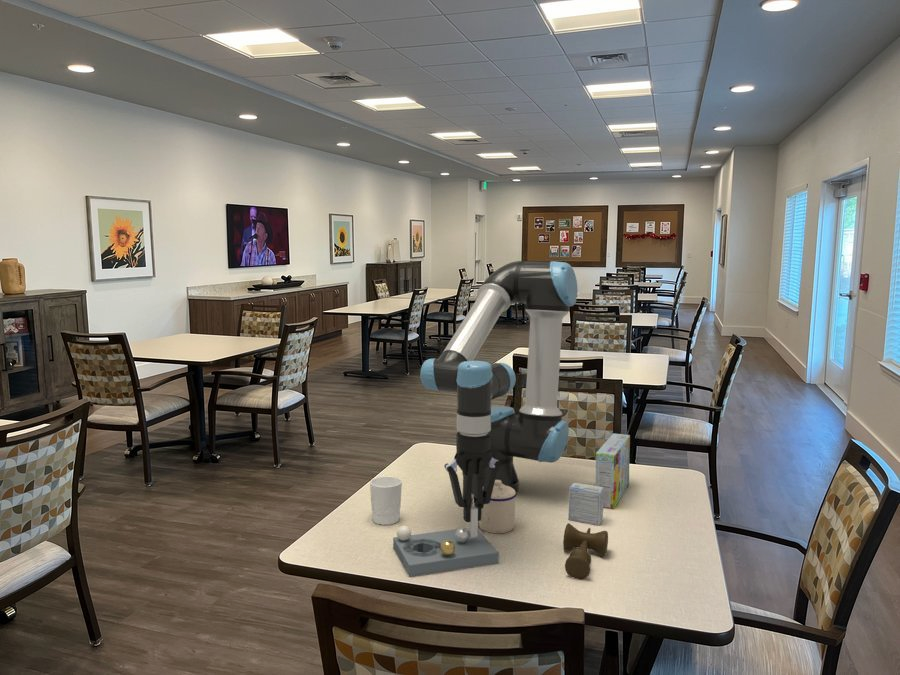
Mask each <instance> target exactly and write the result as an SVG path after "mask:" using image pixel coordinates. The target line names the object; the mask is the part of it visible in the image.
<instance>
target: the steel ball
mask: <svg viewBox="0 0 900 675" xmlns="http://www.w3.org/2000/svg"><path fill="white" fill-rule="evenodd" d="M465 528H466V527H461V528H457V529H458V530H457V531H456V533H455V538H456V540H457V541H458V542H460V543H465V542H467V541H468V539H469V532H468V531H467V530H466V529H465Z"/></svg>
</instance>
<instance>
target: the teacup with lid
mask: <svg viewBox="0 0 900 675" xmlns="http://www.w3.org/2000/svg"><path fill="white" fill-rule="evenodd" d="M516 496H517V492H515V490H514V489H513V488H511V487H509V486H506V485H504V484H502V482H501V480H495V483H494V487H493V491H492V495H491V499H490V503H489V504H484V505H483V506H484V507H483V508H482V511H481V521H478V522H479V523H478V525H479V528H480V529H482V530H483V531H485V532H488V533H490V534H491V533H492V534H504V533H510V532H511V531H512V530H514V528H515V519H516V518H515V517H516V515H515V514H516V511H515V510H516ZM472 504H474V494H473V493H472Z"/></svg>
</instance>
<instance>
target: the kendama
mask: <svg viewBox="0 0 900 675" xmlns="http://www.w3.org/2000/svg"><path fill="white" fill-rule="evenodd" d="M562 542H563V546H562V547H563V550H564V552H568V551H570V553H569V556H568V557H567V559H566V561H565V564H564V568H565V569H564V570H565V572H566V574H567V575H568V576H569V577H570V578H572V577H573V579H576V578H578V580H583V579H585V578H587V577H588V576H589V574H590V570H591V567H590V565H591V564H592V557H591V555H590V553H589V552H588V550H591V551H593V552H595V553H596V554H598V555H600V556H601V557H605V556H606V555H607V553H608V545H609V533H608V531H607V530H602V531H599V532H593V533H592V532H591V528H590V527H588V528H587V531H586V532H583V531H580V530H579V529H578V528H576V527H574V526H573V525H572V524H571V523H568V522H567V524H566V525H565V528H564V534H563V541H562Z"/></svg>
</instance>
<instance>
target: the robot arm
mask: <svg viewBox="0 0 900 675" xmlns="http://www.w3.org/2000/svg"><path fill="white" fill-rule="evenodd" d="M578 290H579V289H578V281H577V275H576V273H575V271H574V269H573V267H572V265H571V264H570V263H567V262H565V261H564V262H562V261H555V260H553V261H550V260H549V261H543V260H542V261H535V260H534V261H532V260H531V261H527V260H526V261H523V260H516V261H511V262H509V263H507V264H505V265H502V266H500V267H499V268H497V269H496V270H494V271H493V272H492V273H491V274H490V275H489V276H487V278H486V279H485V280H484V281H483V282H482V284H481V285H480V287H479V288H478V290H477V294H476V295H477V299H476V300H475V302H474V303H473V305H472V306H471V308H470V309H469V311H468V312H467V314H466V315H465V317H464V319H462V322H461V323H460V325H459V327H458V328H457V330H456V331H455V332H454V334H453V336H452V337H451V339H450V341H449V342H448V343H447V345H446V346H445V347H444V350H443V351H442V353H441V354H440V355H439V357H438V358H429V359H427V360H424V361H423V363H422V365H421V368H420V375H419V376H420V381H421V384H422V385H423V387H424V388H425V389H428V390H433V391H437V392H445V393H447V392H448V393H453V394H456V431H457V432H456V441H455V442H456V445H455V447H456V450H455V451H456V453H455V455H454V457H453V461H451V462H450V463H445V464H444V469H445V470H446V472H447V473H448V475H449V476H448V477H449V480H450V484H451V485H450V486H451V488H452V493H453V494H452V495H453V498H454V502H455V504H456V505H457V506H458V507H459V508H463V514H462V516H463V517H462V518H463V520H464V522H465V523H466V528H467V531H468V532H469V536H470V537H471V538H472V537H477V529H478V530H479V528H478V525H479V523H478V522H479V521H481V511H482V508H483V507H484V506H483V505H484V504H489V503H490V499H491V495H492V491H493V487H494V483H495V480H501V482H502V484H504V485H506V486H509V487H511V488H513V489H514V490H515V492H516V493H517V492H518V491H519V489H520V482H519V477H518V475H517V474H518V473H517V471H516V470H517V469H516V467H515V464H514V458H519V459H523V460H524V459H525V460H530V461H537V462H538V463H542V462H544V463H555V462H557V461H559V460H560V458H561V457H562V456H563V453H564V452H565V449H566V446H567V444H568V439H569V434H570V432H569V430H570V428H569V423H568V422H567V421H566V420H565V419H564V420H563V412H562V411H561V410H560V408H558V397H559V396H558V395H559V382H560V378H559V377H560V364H561V348H562V347H561V346H562V333H563V332H562V328H563V319H564V318H565V317H566V316H567V315H568V314H569V311H570V307H573V306H574V305H575V304H576V302H577V298H578ZM514 304H524V305H525V312H526V313H527V314H528V315H529V318H530V319H529V323H530V324H529V335H528V336H529V337H528V338H529V339H528V353H527V370H526V384H525V385H526V386H525V402H524V405H523V406H522V407H520V408H519V410H518V412H519V413H518V414H517V413H516V412H515V409H514V407H511V406H506V405H505V406H501V405H500V406H492V400H494V399H497V398H500V397H502V396H506V394H508V393H510V392H511V390H513V389H514V387H515V385H516V381H517V380H516V379H517V377H516V373H515V371H514V369H513V368H512V367H511V365H509V364H507V363H505V362H494V363H492V364H491V363H490V362H487V361H484V360H475V358H476V356H477V355H478V353H479V351H480V350H481V348H482V346H483V345H484V343H485V341H486V340H487V337H489V334H490V333H491V331H492V329H493V328H494V326H495V324H496V323H497V321H498V319H499V317H500V316H501V314H502V313H503V312H506V311H508V309H509V308H510V306H511V305H514ZM458 468H459V469H460V470H461V471H462V489H461V485H460V481H459V476H458V474H457V472H458ZM473 494H474V498H473V504H472V495H473Z"/></svg>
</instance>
